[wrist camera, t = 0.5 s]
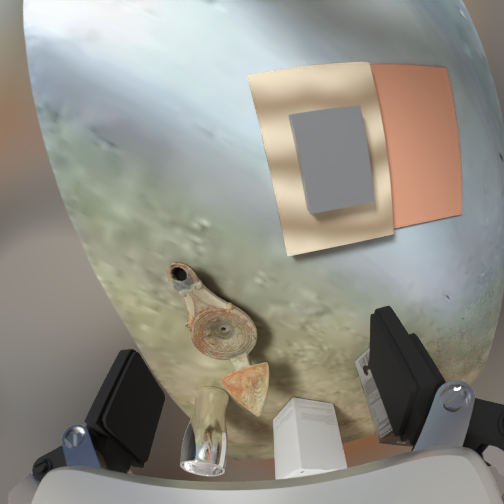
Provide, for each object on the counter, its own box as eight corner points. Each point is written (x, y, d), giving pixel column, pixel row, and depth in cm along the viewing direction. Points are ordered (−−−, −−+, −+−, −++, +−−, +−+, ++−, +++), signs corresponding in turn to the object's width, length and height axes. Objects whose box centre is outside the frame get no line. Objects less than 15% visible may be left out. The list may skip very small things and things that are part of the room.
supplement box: (271, 420, 48) (273, 486, 35) (292, 395, 45) (299, 469, 31) (311, 426, 50) (319, 487, 36) (334, 402, 46) (349, 470, 33)
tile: (288, 115, 26) (290, 114, 24) (353, 106, 25) (360, 105, 23) (306, 208, 30) (310, 214, 28) (367, 197, 29) (374, 202, 27)
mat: (365, 64, 25) (366, 64, 24) (444, 68, 23) (446, 67, 23) (389, 228, 33) (390, 229, 32) (460, 213, 31) (461, 214, 31)
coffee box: (410, 352, 41) (447, 423, 27) (385, 376, 44) (413, 448, 29) (379, 336, 40) (417, 417, 25) (352, 362, 42) (378, 445, 27)
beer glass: (185, 388, 45) (169, 461, 31) (219, 380, 44) (210, 458, 30) (205, 409, 47) (195, 477, 34) (238, 402, 46) (234, 475, 32)
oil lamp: (234, 372, 43) (230, 423, 34) (152, 266, 35) (123, 311, 26) (284, 355, 41) (289, 407, 32) (208, 237, 34) (191, 278, 24)
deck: (247, 79, 26) (247, 75, 24) (362, 65, 25) (368, 61, 23) (286, 249, 34) (287, 256, 32) (386, 228, 33) (393, 234, 31)
